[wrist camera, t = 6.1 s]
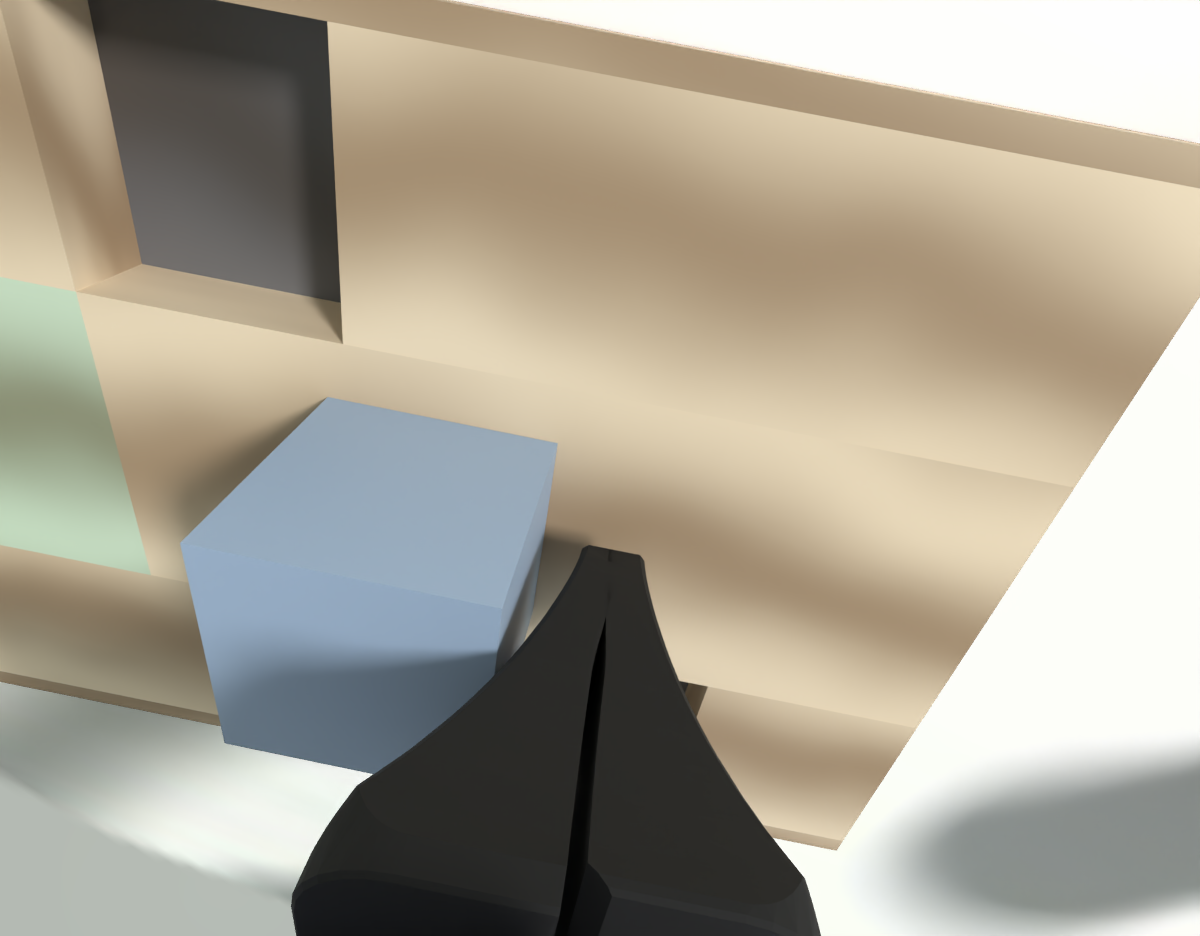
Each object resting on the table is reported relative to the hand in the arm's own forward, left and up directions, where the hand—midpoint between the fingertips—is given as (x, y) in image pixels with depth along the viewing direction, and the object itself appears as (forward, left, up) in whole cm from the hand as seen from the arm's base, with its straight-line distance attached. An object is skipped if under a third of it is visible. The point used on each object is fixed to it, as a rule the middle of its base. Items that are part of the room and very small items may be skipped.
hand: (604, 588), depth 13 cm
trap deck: (0, +5, -3) cm, 6 cm away
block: (0, +4, -1) cm, 4 cm away
